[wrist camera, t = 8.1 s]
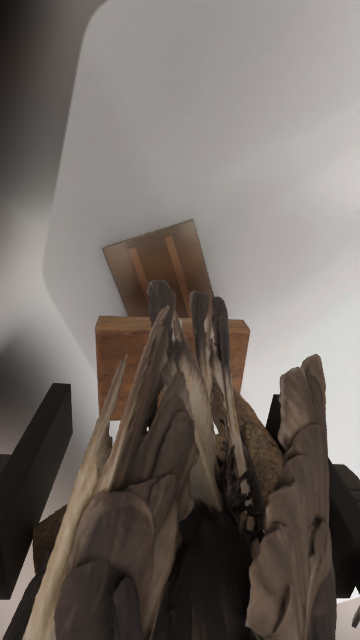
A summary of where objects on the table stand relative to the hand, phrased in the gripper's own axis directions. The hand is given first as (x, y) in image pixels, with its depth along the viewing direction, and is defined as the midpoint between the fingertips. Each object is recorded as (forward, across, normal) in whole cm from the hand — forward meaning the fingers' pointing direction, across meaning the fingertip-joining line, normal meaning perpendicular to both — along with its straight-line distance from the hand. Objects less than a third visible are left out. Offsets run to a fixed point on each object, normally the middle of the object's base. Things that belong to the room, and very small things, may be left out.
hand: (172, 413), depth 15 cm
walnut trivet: (+23, 0, 0) cm, 23 cm away
